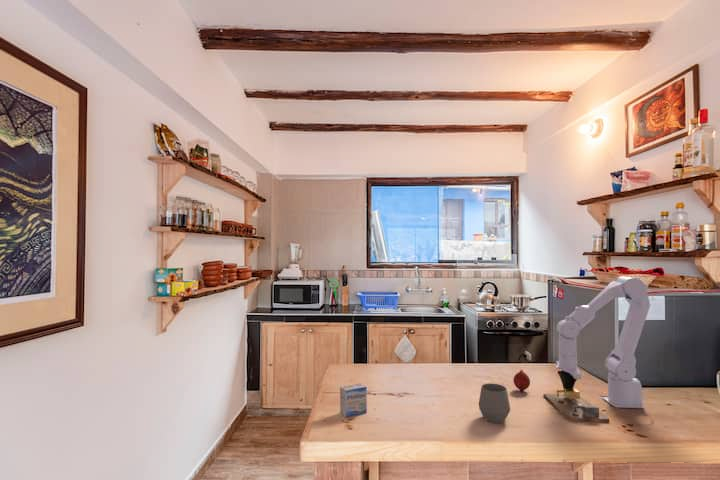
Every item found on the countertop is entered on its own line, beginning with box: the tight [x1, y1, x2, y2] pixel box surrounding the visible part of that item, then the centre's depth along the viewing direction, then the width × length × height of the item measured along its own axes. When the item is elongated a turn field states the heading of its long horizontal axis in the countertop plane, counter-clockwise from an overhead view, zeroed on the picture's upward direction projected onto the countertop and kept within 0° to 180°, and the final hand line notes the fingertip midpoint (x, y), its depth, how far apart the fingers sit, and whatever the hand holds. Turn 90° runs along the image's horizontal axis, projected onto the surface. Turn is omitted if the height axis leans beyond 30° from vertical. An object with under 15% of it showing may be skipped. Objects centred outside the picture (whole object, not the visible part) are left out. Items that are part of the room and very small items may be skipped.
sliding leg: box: [556, 388, 581, 399], centre depth 136 cm, size 7×3×2 cm, turn 86°
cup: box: [478, 382, 511, 424], centre depth 123 cm, size 10×9×10 cm
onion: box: [513, 369, 531, 392], centre depth 147 cm, size 6×6×8 cm
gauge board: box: [543, 393, 610, 423], centre depth 131 cm, size 12×20×4 cm, turn 176°
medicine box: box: [339, 383, 368, 419], centre depth 128 cm, size 8×4×9 cm, turn 118°
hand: (568, 392), depth 138 cm, fingers closed
